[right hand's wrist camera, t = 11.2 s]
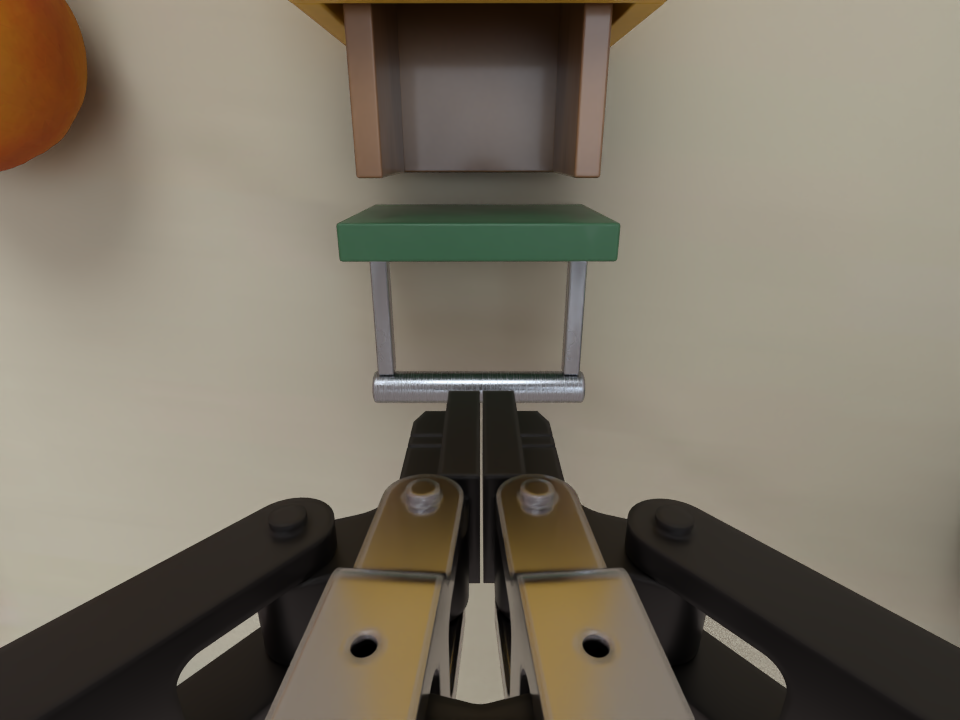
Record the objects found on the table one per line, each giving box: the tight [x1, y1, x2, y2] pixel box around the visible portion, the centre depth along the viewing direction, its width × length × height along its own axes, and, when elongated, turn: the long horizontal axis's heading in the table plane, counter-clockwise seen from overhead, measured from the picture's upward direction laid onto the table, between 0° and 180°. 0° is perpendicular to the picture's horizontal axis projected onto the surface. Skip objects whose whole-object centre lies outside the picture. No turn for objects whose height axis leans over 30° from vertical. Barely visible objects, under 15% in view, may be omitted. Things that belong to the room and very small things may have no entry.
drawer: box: [336, 3, 620, 403], centre depth 19 cm, size 18×9×6 cm, turn 0°
